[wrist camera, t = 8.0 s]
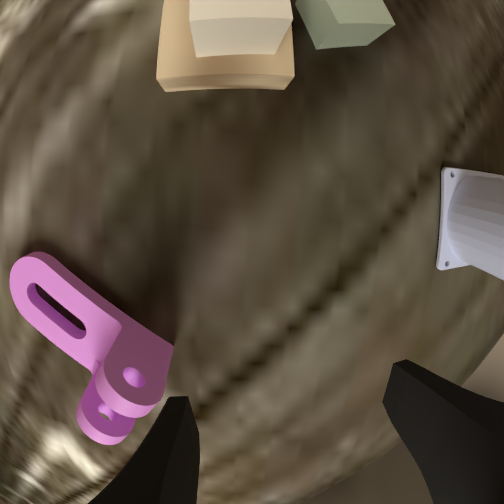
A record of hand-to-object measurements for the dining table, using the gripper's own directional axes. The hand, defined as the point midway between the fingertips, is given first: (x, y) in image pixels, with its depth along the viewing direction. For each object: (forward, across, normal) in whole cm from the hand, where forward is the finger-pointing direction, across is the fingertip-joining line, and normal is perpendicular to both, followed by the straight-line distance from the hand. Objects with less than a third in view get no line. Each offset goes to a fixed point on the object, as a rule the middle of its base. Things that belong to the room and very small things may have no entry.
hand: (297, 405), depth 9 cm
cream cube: (+7, +1, -16) cm, 17 cm away
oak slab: (+10, +1, -16) cm, 19 cm away
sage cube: (+10, -6, -18) cm, 21 cm away
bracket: (+10, +13, +1) cm, 16 cm away
